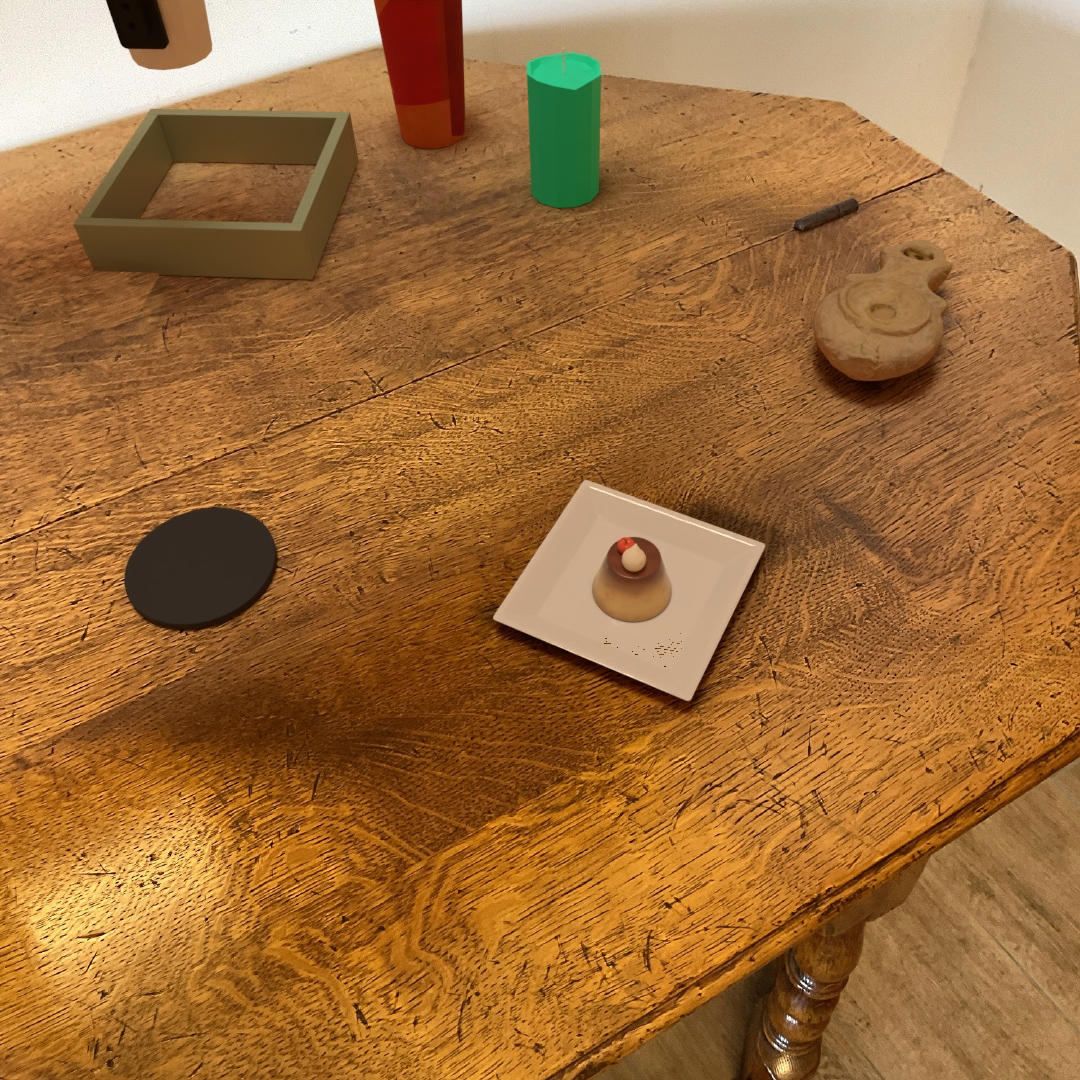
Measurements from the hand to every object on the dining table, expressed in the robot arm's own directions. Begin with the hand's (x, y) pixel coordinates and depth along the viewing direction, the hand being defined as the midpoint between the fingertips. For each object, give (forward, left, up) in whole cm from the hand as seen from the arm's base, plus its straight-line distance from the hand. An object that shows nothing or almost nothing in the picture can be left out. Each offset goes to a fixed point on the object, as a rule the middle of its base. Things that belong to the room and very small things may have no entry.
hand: (163, 20), depth 70 cm
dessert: (+34, -34, -18) cm, 52 cm away
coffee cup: (+14, +18, -18) cm, 29 cm away
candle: (+27, +9, -18) cm, 34 cm away
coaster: (+8, -34, -17) cm, 39 cm away
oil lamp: (+51, -10, -18) cm, 55 cm away
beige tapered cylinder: (0, 0, -2) cm, 2 cm away
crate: (-1, +4, -17) cm, 18 cm away
